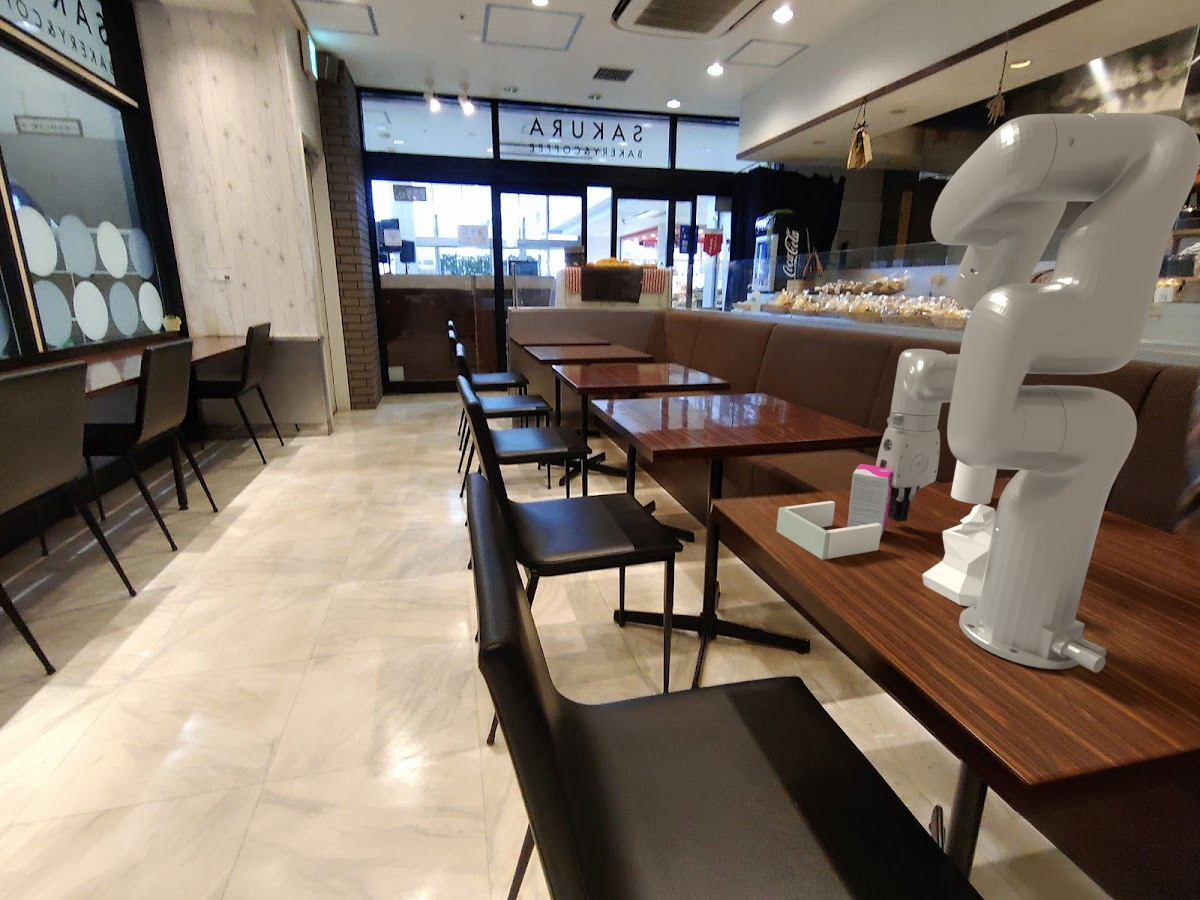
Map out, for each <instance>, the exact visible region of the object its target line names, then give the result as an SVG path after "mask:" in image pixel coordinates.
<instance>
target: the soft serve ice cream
mask: <svg viewBox="0 0 1200 900" xmlns="http://www.w3.org/2000/svg"><path fill="white" fill-rule="evenodd" d="M996 512H997V511H996V510H995V508H994V507H990V506H988V505H986V504H976V505H974V506H973V508H972V509H971V512H970V513H969V514H968V515H966V516H964V517H963V518H961V519H960V520H959V521H960V522H961V524H957V525H956V526H955V525H954V526H953V527H950V528H948V529H945V530H943V531H942V541H943V547H944V553H945V554H944V556H943V558H942V560H941V561H939V562H938V563H937V564H935V565H934V566H932V567H931V568H929V569H928V570H927V571H925V572H924V573H922V581H923V582H922V583H923V586H925V587H926V588H928V589H930V590H932V591H934V592H936V593H937V594H939V595H941V596H943V597H945V598H946V599H949V600H951V601H952V602H954V603H956V604H957V605H959V606H964V607H972V606H977V604H978V599H979V594H980V590H981V585H982V580H983V575H984V570H985V565H986V561H987V556H988V551H989V546H990V541H991V536H992V531H993V527H994V522H995V517H996Z"/></svg>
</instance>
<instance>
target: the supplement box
mask: <svg viewBox="0 0 1200 900" xmlns="http://www.w3.org/2000/svg"><path fill="white" fill-rule="evenodd" d="M891 477H892V472H890V471H888V470H886V468H885V467H878V466H876V465H872V464H865V463H860V464H859V465H858V466H857V467H856V469H855V470H854V471H853V473H852V478H851V479H852V480H851V490H850V497H849V498H850V499H849V505H848V506H849V509H848V517H847V527H853V526H860V525H866V524H873V523H879V524H881V525H882V529H881V535H880V539H881V538H882V535H883V533H884V531H885V530H886V528H887V525H888V518H889V517H888V511H889V504H890V496H891V488H892V486H891Z"/></svg>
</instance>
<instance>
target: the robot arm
mask: <svg viewBox="0 0 1200 900" xmlns="http://www.w3.org/2000/svg"><path fill="white" fill-rule="evenodd" d="M1199 168H1200V140H1199V137H1198V134H1197V133H1196V131H1195V130H1194V129H1193V127H1192V126H1190V125H1189V123H1187V122H1185V121H1184V120H1182V119H1179V118H1176V117H1173V116H1168V115H1164V114H1157V113H1156V114H1155V113H1144V112H1143V113H1142V112H1094V113H1093V112H1091V113H1089V112H1088V113H1037V114H1026V115H1021V116H1019V117H1018V116H1017V117H1015V118H1013V119H1009V120H1008V121H1007V122H1005V123H1003V124H1002V125H1000V126H999V127H998V128H997V129H996V130H994V132H992V134H990V135H989V137H988V138H987V139H986V140H985V141H984V142H983V143H982V144H981V145H980V146H979V147H978V148H977V149H976V150H975V151H974V153H972V154H971V155H970V157H968V158H967V160H965V162H963V164H962V165H961V166H960V167H959V168H958V169H957V170H956V172H955V173H954V174H953V176H952V177H951V178H950V179H949V181H948V182H947V183H946V185H945V186H944V188H943V189H942V190H941V193H940V195H939V196H938V199H937V201H936V203H935V205H934V208H933V211H932V215H931V218H930V219H931V220H930V229H931V234H932V236H933V238H934V240H935V241H936V242H937V243H939V244H941V245H945V246H967V248H966V251H965V253H964V255H963V257H962V259H961V262H960V265H959V267H958V269H957V272H956V274H955V276H954V278H953V281H952V283H951V286H950V290H949V291H950V295H951V297H952V299H953V300H954V301H955V303H957V304H958V305H959V306H961V307H962V308H964V309H966V310H967V311H969V312H971V313H970V315H969V317H968V318H967V322H966V325H965V327H964V331H963V336H962V339H961V344H960V350H959V354H958V353H949V354H947V353H946V352H945V351H942V350H937V349H932V348H931V349H930V348H929V349H928V348H909V349H905V350H904V351H902V352H901V353H900V355H899V358H898V363H897V368H896V376H895V381H894V387H893V394H892V400H891V406H890V412H889V416H888V417H887V418H886V422H887V427H886V428H885V431H884V433H883V436H882V439H881V443H880V445H879V449H878V453H877V457H876V464H875V466H878V467H885V468H886V470H888V471H890V472H892V477H891V486H892V488H891V496H890V504H889V511H888V518H889V519H891V520H894V521H895V522H897V523H901V522H907V520H908V516H909V512H910V505H911V501H912V500H914V498H915V495H916V493H917V492H918V490H919V489H922V488H924V487H927V486H928V485H930V484H932V483H934V482H935V481H936V479H937V475H938V470H939V469H938V468H939V461H940V452H941V435H940V434H941V433H940V429H938V425H939V419H940V414H941V409H942V403H944V404H945V403H950V405H949V409H948V410H949V411H948V416H947V417H948V418H947V427H946V428H947V429H946V431H947V432H946V436H947V444H948V447H949V449H950V453H952V455H953V457H954V458H955V459H956V461H957V460H959V461H960V462H961V463H963V464H965V465H968V466H971V467H976V468H985V469H997V470H1013V471H1014V470H1018V472H1016V473H1015V474H1014V476H1013V477H1012V478H1011V479H1010V480H1009V482H1008V483H1007V485H1006V486H1005V488H1004V489H1003V491H1002V493H1001V495H1000V498H999V500H998V504H997V508H996V511H995V512H996V517H995V522H994V527H993V531H992V536H991V541H990V546H989V551H988V556H987V561H986V565H985V570H984V575H983V580H982V585H981V590H980V594H979V599H978V604H977V606H972V607H971V606H968V607H967V608H965V609H964V610H962V611H961V612H960V614H959V615H960V616H959V619H958V620H959V621H958V622H959V623H958V624H959V627H960V629H961V631H962V633H963V634H964V635H965V636H966V637H967V638H968V639H969V640H971V641H972V642H973V643H974V644H975V645H977V646H979V647H980V648H981V649H984V650H986V651H988V653H991V654H993V655H995V656H998V657H999V658H1002V659H1005V660H1008V661H1009V662H1010V661H1011V662H1012V663H1017V664H1020V665H1023V666H1024V665H1025V666H1028V667H1033V668H1036V669H1044V670H1045V669H1046V670H1066V669H1072V668H1074V667H1077V666H1079V665H1080V666H1083V667H1084V668H1086V669H1087V670H1090V671H1091V672H1093V673H1099V672H1100V671H1102V670H1103V669H1104V667H1105V665H1106V658H1105V657H1106V655H1107V649H1106V648H1105V647H1103V646H1101V645H1098V644H1097V643H1095V642H1091V641H1089V640H1087V639H1086V637H1085V636H1084V635H1083V632H1084V628H1085V623H1084V622H1081V621H1080V620H1078V619H1076V617H1077V613H1078V608H1079V604H1080V601H1081V598H1082V593H1083V590H1084V584H1085V580H1086V578H1087V573H1088V570H1089V569H1088V568H1089V566H1090V561H1091V558H1092V554H1093V549H1094V547H1095V542H1096V538H1097V535H1098V532H1099V528H1100V525H1101V520H1102V517H1103V514H1104V510H1105V508H1106V507H1105V506H1106V503H1107V500H1108V498H1109V495H1110V492H1111V490H1112V488H1113V487H1112V486H1113V485H1114V483H1115V481H1116V479H1117V477H1118V475H1119V473H1120V471H1121V469H1122V468H1123V465H1124V464H1125V462H1126V460H1127V458H1128V457H1129V456H1130V455H1129V454H1130V453H1131V450H1132V449H1133V446H1134V443H1135V440H1136V437H1137V430H1138V429H1137V428H1138V425H1137V424H1138V423H1137V417H1136V414H1135V412H1134V410H1133V408H1132V407H1131V406H1130V404H1129V403H1128V402H1127V401H1126V400H1125V399H1123V398H1122V397H1121V396H1119V394H1115V393H1114V392H1111V391H1109V390H1105V389H1102V388H1097V387H1090V386H1082V385H1053V384H1051V385H1047V384H1044V385H1043V384H1037V385H1023V382H1024V379H1025V377H1026V376H1027V374H1031V375H1032V374H1033V375H1034V374H1035V375H1036V374H1037V375H1095V374H1096V375H1097V374H1107V373H1110V372H1114V371H1117V370H1120V369H1121V368H1123V367H1124V366H1126V365H1127V364H1128V363H1130V361H1131V360H1132V359H1133V358H1134V356H1135V354H1136V353H1137V351H1138V348H1139V345H1140V343H1141V340H1142V338H1143V334H1144V331H1145V329H1146V328H1145V327H1146V324H1147V320H1148V317H1149V314H1150V309H1151V305H1152V302H1153V298H1154V295H1155V291H1156V287H1157V283H1158V280H1159V278H1160V277H1159V276H1160V271H1161V269H1162V264H1163V261H1164V257H1165V253H1166V252H1165V250H1166V248H1167V246H1168V241H1169V238H1170V236H1171V233H1172V231H1173V228H1174V226H1175V223H1176V221H1177V219H1178V217H1179V216H1180V213H1181V211H1182V208H1183V207H1184V205H1185V203H1186V201H1187V200H1188V197H1189V194H1190V193H1191V190H1192V188H1193V186H1194V184H1195V180H1196V178H1197V175H1198V172H1199ZM1068 202H1092V203H1091V204H1090V205H1089V206H1088V207H1087V208H1086V209H1085V210H1084V211H1083V212H1082V213H1081V214H1080V215H1079V216H1078V217H1077V218H1076V219H1075V221H1074V222H1073V223H1072V224H1071V225H1070V227H1069V228H1068V229H1067V231H1066V232H1064V235H1063V237H1062V238H1061V241H1060V243H1059V246H1058V249H1057V254H1056V259H1055V264H1054V268H1053V272H1052V275H1051V278H1050V281H1048V283H1047V282H1046V283H1045V282H1043V283H1041V282H1030V279H1031V277H1032V275H1033V274H1034V271H1035V269H1036V267H1037V266H1038V263H1039V262H1040V260H1041V258H1042V256H1043V254H1044V253H1045V251H1046V248H1047V247H1048V245H1049V243H1050V240H1051V238H1052V237H1053V235H1054V232H1055V231H1056V229H1057V227H1058V225H1059V223H1060V221H1061V220H1062V217H1063V215H1064V213H1065V211H1066V208H1067V207H1066V206H1067V204H1068Z"/></svg>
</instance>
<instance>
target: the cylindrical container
mask: <svg viewBox="0 0 1200 900" xmlns="http://www.w3.org/2000/svg"><path fill="white" fill-rule="evenodd" d="M997 471H998V469H985V468H976V467H971V466H968V465H965V464H963V463H961V462H960V461H959V460H957V459H956V464H955V469H954V475H953V476H954V477H953V481H952V487H951V492H950V497H951V498H953V499H954V500H956V501H960V502H963V503H967V504H970V505H979V504H982V505H989V504H990V503H991V501H992V496H993V491H994V487H995V482H996V477H997Z"/></svg>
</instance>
